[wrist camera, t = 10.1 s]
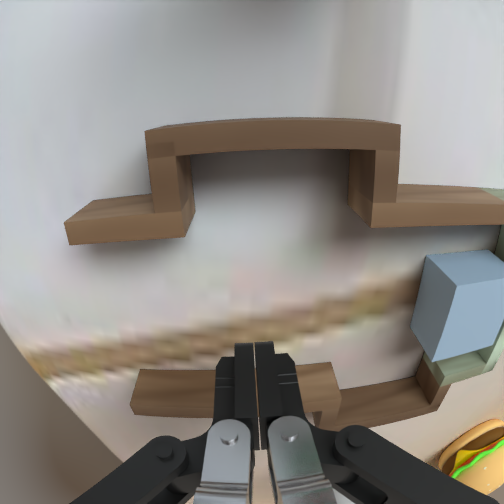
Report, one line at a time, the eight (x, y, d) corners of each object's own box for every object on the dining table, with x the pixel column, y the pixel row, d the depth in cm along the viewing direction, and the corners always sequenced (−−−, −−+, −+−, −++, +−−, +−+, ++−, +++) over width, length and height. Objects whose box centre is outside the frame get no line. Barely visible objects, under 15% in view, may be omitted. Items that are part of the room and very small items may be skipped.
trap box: (83, 139, 13) (50, 149, 10) (524, 143, 13) (558, 155, 10) (155, 406, 20) (148, 439, 18) (461, 372, 21) (476, 397, 18)
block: (424, 253, 16) (457, 286, 13) (485, 248, 16) (519, 275, 13) (408, 325, 18) (431, 362, 15) (467, 313, 18) (492, 345, 15)
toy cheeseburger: (442, 435, 26) (468, 496, 18) (519, 397, 25) (548, 445, 17) (420, 475, 31) (436, 523, 23) (488, 444, 30) (508, 486, 22)
